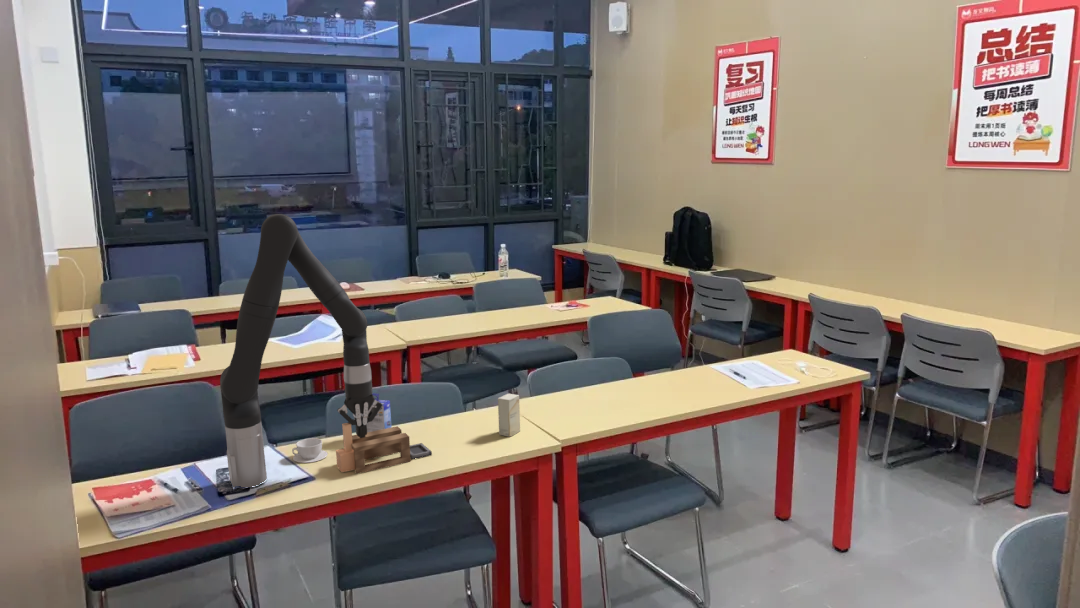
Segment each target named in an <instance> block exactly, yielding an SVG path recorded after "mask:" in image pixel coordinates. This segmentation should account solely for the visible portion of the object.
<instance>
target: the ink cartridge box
mask: <svg viewBox="0 0 1080 608" xmlns="http://www.w3.org/2000/svg"><path fill="white" fill-rule="evenodd" d="M372 394H373V397H374V396H375V397H376V398H375V397H374V398H375V400H376V401H379V402H380V403H381V404H382V407H381V408H380V410H379V412H378V413H377V415H376V416H375V418H374V419H373V421H372V422H368V423H367V432H372V431H377V430H382V429H387V428H392V417H391V416H392V415H391V411H392V410H391V400H387V399H385V400H384V399H379V398H380V393H375V392H374V393H373V392H372ZM372 405H373V404H372ZM371 409H372V406H371V408H370V409H369V411H368V414H369V412H370V411H371Z"/></svg>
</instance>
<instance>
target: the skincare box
mask: <svg viewBox="0 0 1080 608" xmlns="http://www.w3.org/2000/svg"><path fill="white" fill-rule="evenodd" d="M497 407H498V408H497V409H498V412H497V413H498V415H497V416H498V434H499V436H505V437H512V436H514V435H516V434H518V433H520V432H521V411H520V395H519V394H514V393H506V394H504V395H502V396H499V397H497Z"/></svg>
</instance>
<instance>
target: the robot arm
mask: <svg viewBox="0 0 1080 608" xmlns="http://www.w3.org/2000/svg"><path fill="white" fill-rule="evenodd" d="M288 261H289V263H290V265H291V266H293V268H294V269H295V270H296V271H297V272H298V274H299V276H300V277H301V278H302V279H303V282H304V283H305V284H306V285H307V287H308V288H309V290H310V291H311V292H312V294H313V295H314V297H316V298H317V300H318V301H319V302H320V303H321V304H322V306H323V307H324V308H325V309H326V310H327V311H328V312H329V313H330V315H331V317H332V319H334V321H335V322H336V323H337V325H338V326H339V328H340V329H341V335H342V343H343V346H342V347H343V349H342V350H343V351H342V352H343V353H342V354H343V382H344V396H345V399H344V401H343V403H344V404H343V405H342V407H339V408H337V409H336V411H337V412H338V414H340V415H341V416H342V418H344V419H345V420H346V421H347V423H348V422H349V423H350V424H351V426H355V435H357V436H358V437H360V438H363V437H365V435H367V423H368V422H372V421H373V419H374V418H375V416H376V415H377V413H378V412H379V410H380V408H381V407H382V404H381V403H380V402H379V401H376V400H375V397H374V396H373V394H372V393H373V383H372V382H373V380H372V379H373V378H372V368H371V364H370V352H369V351H370V350H369V346H368V342H367V341H368V340H367V338H368V337H367V336H368V335H367V328H368V320H367V316H366V314H365V313H364V311H363V310H361V309H360V308H358V307H357V306H356V305H355V304H354V303H353V301H352V300H351V299H350V297H349V295H348V294H347V292H346V290H345V289H344V287H343V286H342V285H341V284H340V282H338V280H337V279H336V278H335V276H334V275H333V274H332V273H331V272H330V271H329V270H328V269H327V268H326V266H324V264H322V262H321V261H320V260H319V259H318V258H317V256H315V254H314V253H313V252H312V250H311V249H310V248H309V247H308V245H307V243H306V242H305V240H304V239H303V237H302V235H301V234H300V232H299V229H298V226H297V223H296V222H295V221H294V219H293V218H291V217H290V216H288V215H287V214H284V213H275V214H271V215H270V216H267V217H266V218H265V219H264V221H263V222H262V224H261V227H260V239H259V246H258V253H257V258H256V262H255V265H254V268H253V270H252V272H251V275H250V277H249V280H248V282H247V284H246V286H245V287H246V288H245V290H244V292H243V296H242V301H241V304H240V307H239V312H238V316H237V317H238V318H237V323H236V333H235V345H234V349H233V354H232V357H231V360H230V364H229V366H226V367H225V369H224V370H223V371H222V373H221V374H220V379H219V383H220V384H219V385H220V394H221V402H222V412H223V420H224V422H223V423H224V429H225V439H226V447H227V450H226V460H227V468H228V477H229V482H230V481H231V483H232V485H233V487H235V486H241V487H252V486H256V485H259V484H260V483H262V482H264V481H265V480H266V479H267V480H268V477H267V476H268V475H267V468H266V466H267V465H266V455H265V446H264V445H265V444H264V436H263V426H262V415H261V408H260V400H259V391H258V389H259V383H260V382H259V381H260V373H261V367H262V362H263V357H264V354H265V350H266V348H267V346H268V342H269V340H270V337H271V333H272V331H273V327H274V325H275V321H276V317H277V314H278V310H279V307H280V301H281V297H282V291H283V285H284V284H283V283H284V275H285V274H284V273H285V270H286V266H287V265H288V264H287V263H288ZM372 404H373V405H372ZM371 406H372V409H371V411H370V412H369V414H368V411H369V409H370V408H371ZM348 410H349V412H351V414H352V415H353V419H352V418H351V416H350V415H348ZM231 483H230V484H231Z"/></svg>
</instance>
